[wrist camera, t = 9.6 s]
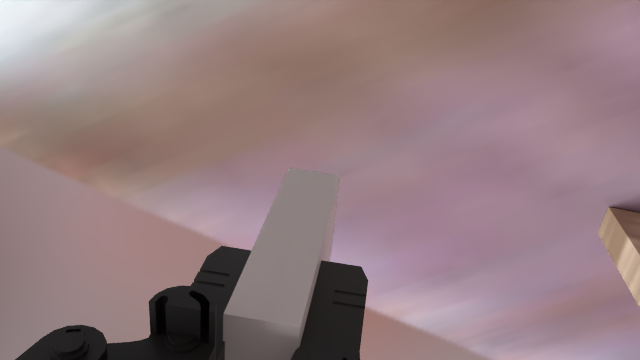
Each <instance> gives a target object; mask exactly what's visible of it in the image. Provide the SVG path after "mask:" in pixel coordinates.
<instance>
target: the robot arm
mask: <svg viewBox="0 0 640 360" xmlns="http://www.w3.org/2000/svg"><path fill="white" fill-rule="evenodd" d="M339 181H340V175H336V174H329V173H322V172H315V171H308V170H301V169H295V168H289V169H288V171H287V173H286V175H285V178H284V180H283V182H282V184H281V187H280V189H279V191H278V193H277V195H276V198H275V200H274V202H273V204H272V207H271V209H270V211H269V213H268V216H267V218H266V220H265V222H264V224H263V227H262V229H261V231H260V233H259V236H258V238H257V240H256V242H255V245H254V247H253V249H252V251H250V250H244V249H238V248H231V247H225V246H221V247H220V248H219V249H217V250H215V251H214V252H213V253H211V254H210V255H208V256H207V258H206V260H205V262H204V263H203V265H202V267H201V269H200V272H198V274H197V276H196V278H195V279H194V283H192V285H191V286H177V287H172V288H167V289H165V290H163V291H161V292H159V293H158V294H156V295H155V296H154V297H153V298H152V299H151V300H150V301H149V311H150V331H151V334H150V336H149V338H146V339H144V340H140V341H133V342H124V343H110V344H107V341H106V339H105V337H104V335H103V333H102V332H100V331H99V330H97V329H96V328H94V327H89V326H84V325H75V326H66V327H63V328H60V329H57V330H54V331H52V332H51V333H49V334H47V335H46V336H44V337H43V338H41V339H40V340H39V341H38V342H37V343H35V344H34V345H33V346H32V347H30V348H29V349H28V350H27V351H25V352H24V353H23V354H22V355H20V356H19V357H18V358H17V359H15V360H360V353H359V351H360V343H361V335H362V334H361V333H362V326H363V318H364V310H365V302H366V293H367V285H368V280H367V277H366V275H365V273H364V271H363V269H362V267H360V266H353V265H347V264H341V263H334V262H329V260H330V256H331V249H332V241H333V232H334V224H335V215H336V207H337V198H338V190H339Z"/></svg>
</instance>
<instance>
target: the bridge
mask: <svg viewBox="0 0 640 360" xmlns="http://www.w3.org/2000/svg"><path fill="white" fill-rule="evenodd" d="M598 235H599V237H600V238H601V240H602V242H603V244H604V245H605V247H606V249H607V251H608V252H609V254H610V256H611V258H612V260H613V261H614V263H615V265H616V267H617V268H618V270H619V272H620V274H621V275H622V277H623V279H624V281H625V283H626V284H627V286H628V288H629V290H630V291H631V293H632V295H633V297H634V298H635V300H636V302H637V304H638V305H639V307H640V213H636V212H631V211H626V210H621V209H616V208H611V207H608V209H607V212H606V214H605V217H604V219H603V221H602V224H601V226H600V229H599V231H598Z"/></svg>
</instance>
